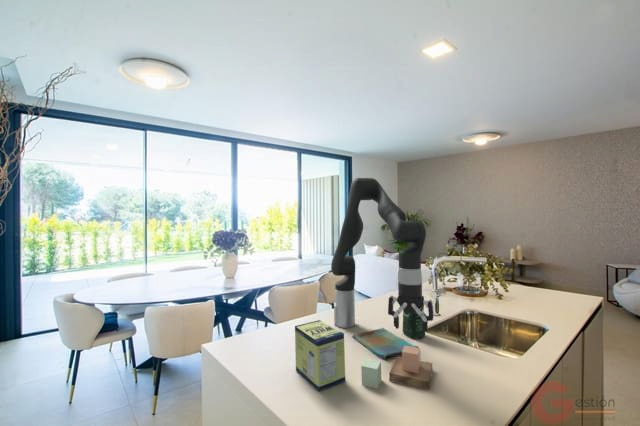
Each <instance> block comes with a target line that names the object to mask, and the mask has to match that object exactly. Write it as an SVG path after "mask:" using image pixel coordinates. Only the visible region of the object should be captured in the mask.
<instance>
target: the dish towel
mask: <svg viewBox="0 0 640 426" xmlns="http://www.w3.org/2000/svg"><path fill="white" fill-rule="evenodd" d="M351 338H352V339H353V340H355V341H356V342H357V343H359V344H360V345H362V346H363V347H365V348H366V349H368V350H369V352H371V353H372V354H374V355H375V356H377V357H378V358H380V359H381V360H383V361H388V360H391V359H396V357H402V350H403V348H404V346H411V347H417V348H419V346H417V345H413V344H412V343H410V342H409V341H406V340H405V339H403V338H402V337H400V336H397V335H396V334H394V333H392V332H391V331H389V330H387V329H386V328H384V327H381V328H378V329H373V330H370V331H364V332H360V333H355V334H352V336H351Z"/></svg>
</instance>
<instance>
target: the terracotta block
mask: <svg viewBox="0 0 640 426" xmlns="http://www.w3.org/2000/svg"><path fill="white" fill-rule="evenodd" d="M401 357H402V370H404V371H409V372H414V373H419V369H420V361H421V347H418V348H417V347H411V346H404V348H403V350H402V356H401Z"/></svg>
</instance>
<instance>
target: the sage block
mask: <svg viewBox="0 0 640 426" xmlns="http://www.w3.org/2000/svg"><path fill="white" fill-rule="evenodd" d="M381 381H382V361H380V360H374V359H370V358H365V360H364V361H363V362H362V364H361V386H366V387H370V388H372V389H373V388H375V389H378V388H379V386H380V384H381Z"/></svg>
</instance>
